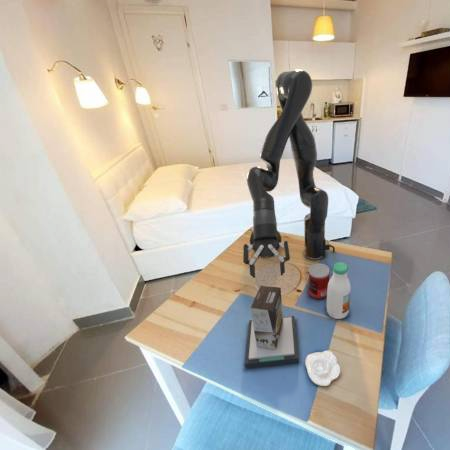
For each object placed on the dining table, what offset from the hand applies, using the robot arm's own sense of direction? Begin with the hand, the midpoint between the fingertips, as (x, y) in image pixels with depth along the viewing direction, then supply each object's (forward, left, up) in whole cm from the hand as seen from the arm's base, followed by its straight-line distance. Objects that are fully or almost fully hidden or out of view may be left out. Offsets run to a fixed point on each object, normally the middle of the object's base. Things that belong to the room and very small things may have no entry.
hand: (267, 276), depth 76 cm
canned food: (-18, -11, -20) cm, 29 cm away
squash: (+3, -43, -20) cm, 47 cm away
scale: (0, +9, -19) cm, 21 cm away
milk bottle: (-23, -1, -20) cm, 30 cm away
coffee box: (0, +9, -16) cm, 18 cm away
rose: (-14, +19, -20) cm, 30 cm away
